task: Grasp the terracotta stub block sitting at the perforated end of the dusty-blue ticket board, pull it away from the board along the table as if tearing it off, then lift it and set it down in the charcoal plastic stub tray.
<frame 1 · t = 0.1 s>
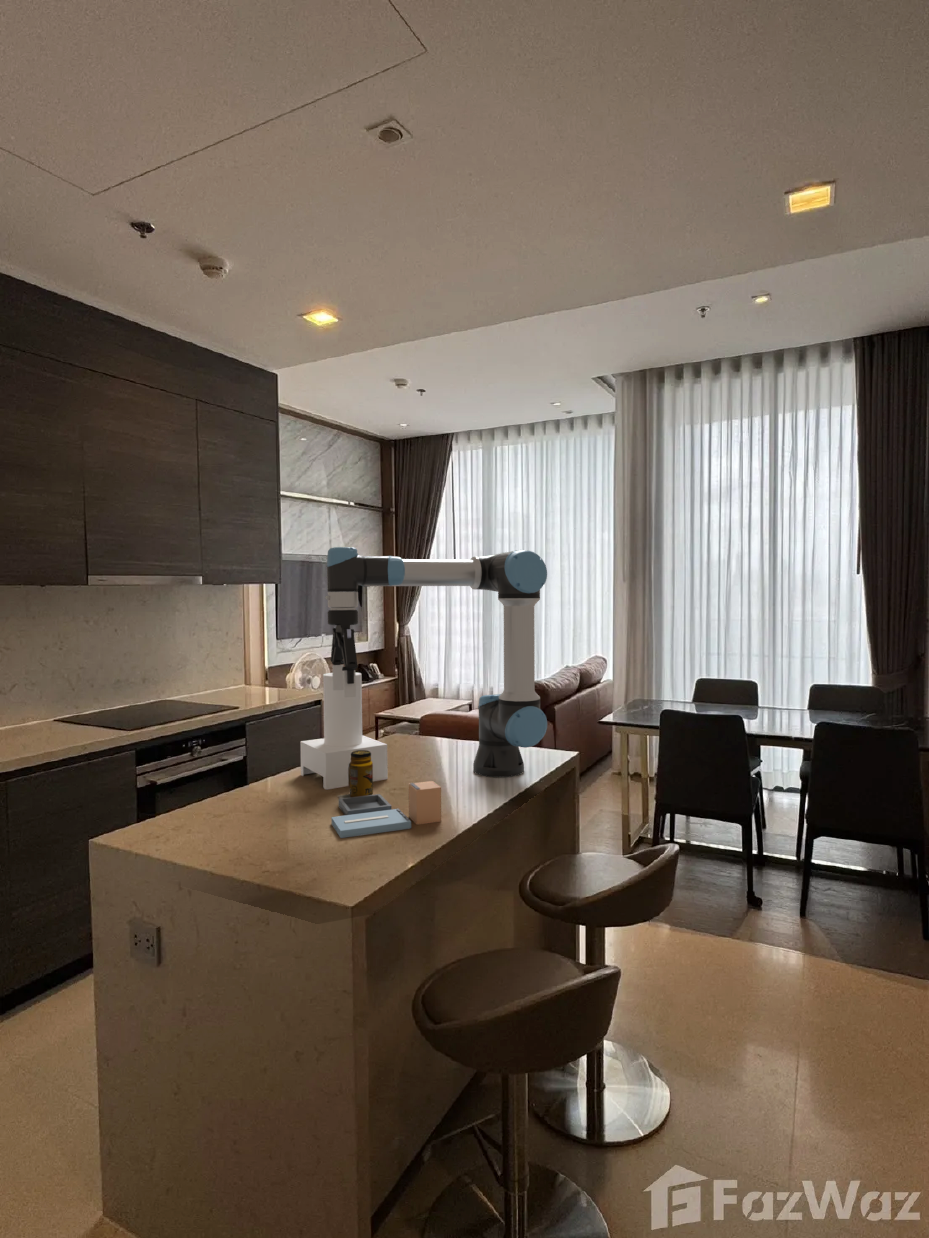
hand: (343, 693, 173), 28 cm above the countertop, fingers open, 13 cm apart
stub: (424, 819, 162), on the countertop
ticket board: (370, 826, 157), on the countertop
paper towel holder: (343, 777, 200), on the countertop
stub tray: (364, 810, 168), on the countertop
condiment: (358, 798, 179), on the countertop
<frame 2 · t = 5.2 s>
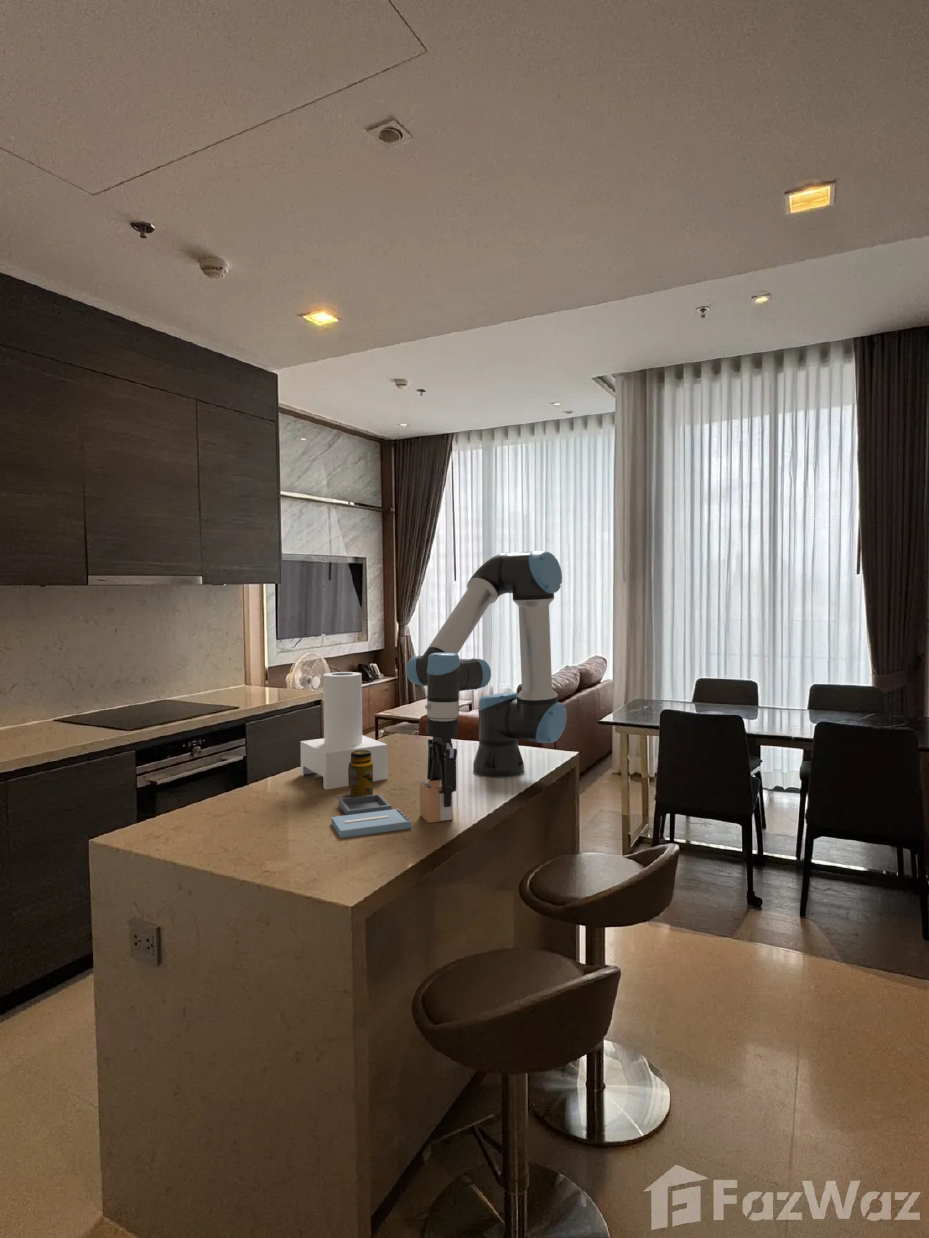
hand: (440, 815, 163), 0 cm above the countertop, fingers closed on stub, 6 cm apart
stub: (436, 817, 163), on the countertop, touching gripper
everything else where it was.
when the fingers open (2 cm above the countertop, at t = 10.7 s): stub stays where it is, resting on stub tray.
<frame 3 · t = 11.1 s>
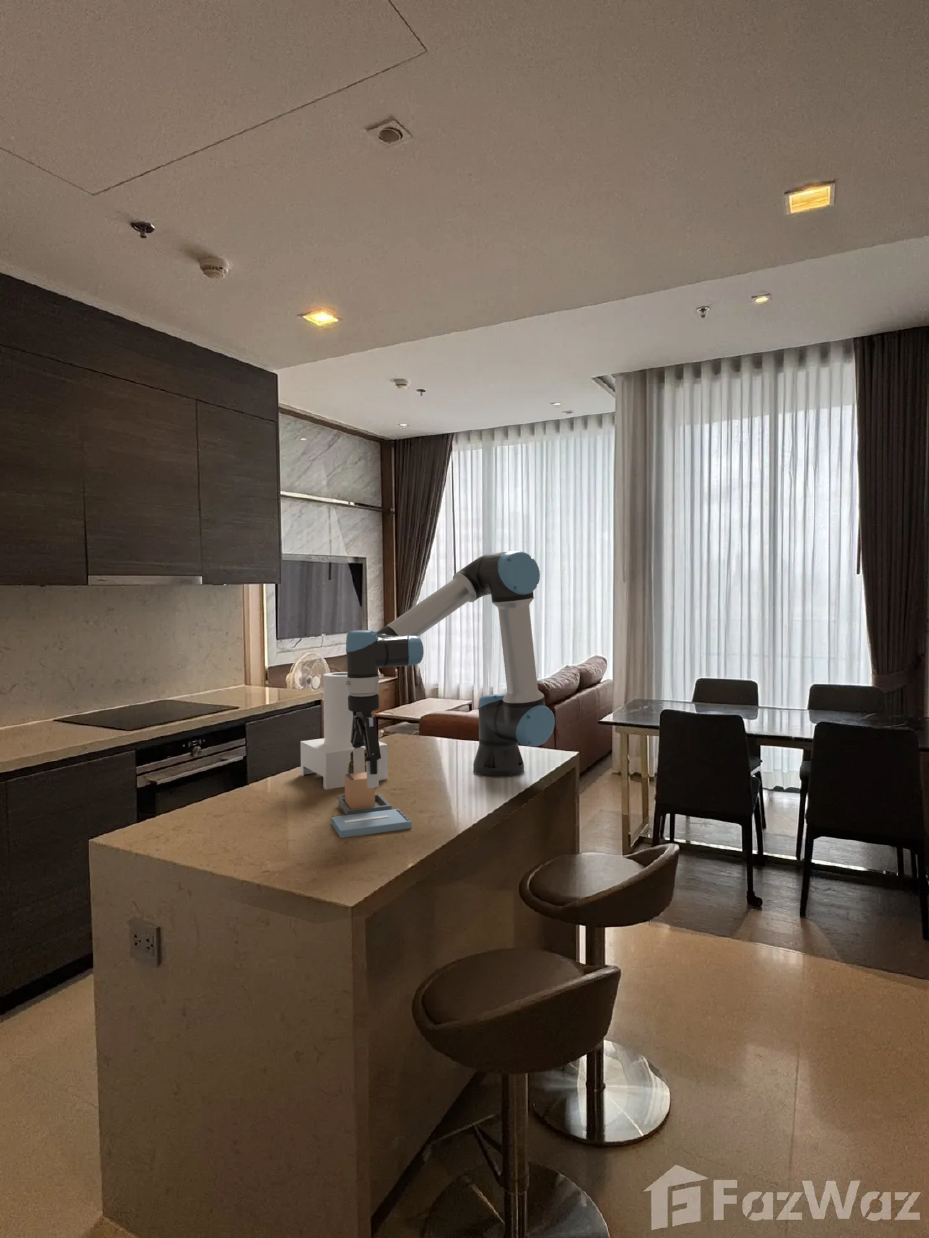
hand: (366, 780, 168), 7 cm above the countertop, fingers open, 13 cm apart
stub: (359, 808, 168), point 1 cm above the countertop, touching stub tray
everything else where it was.
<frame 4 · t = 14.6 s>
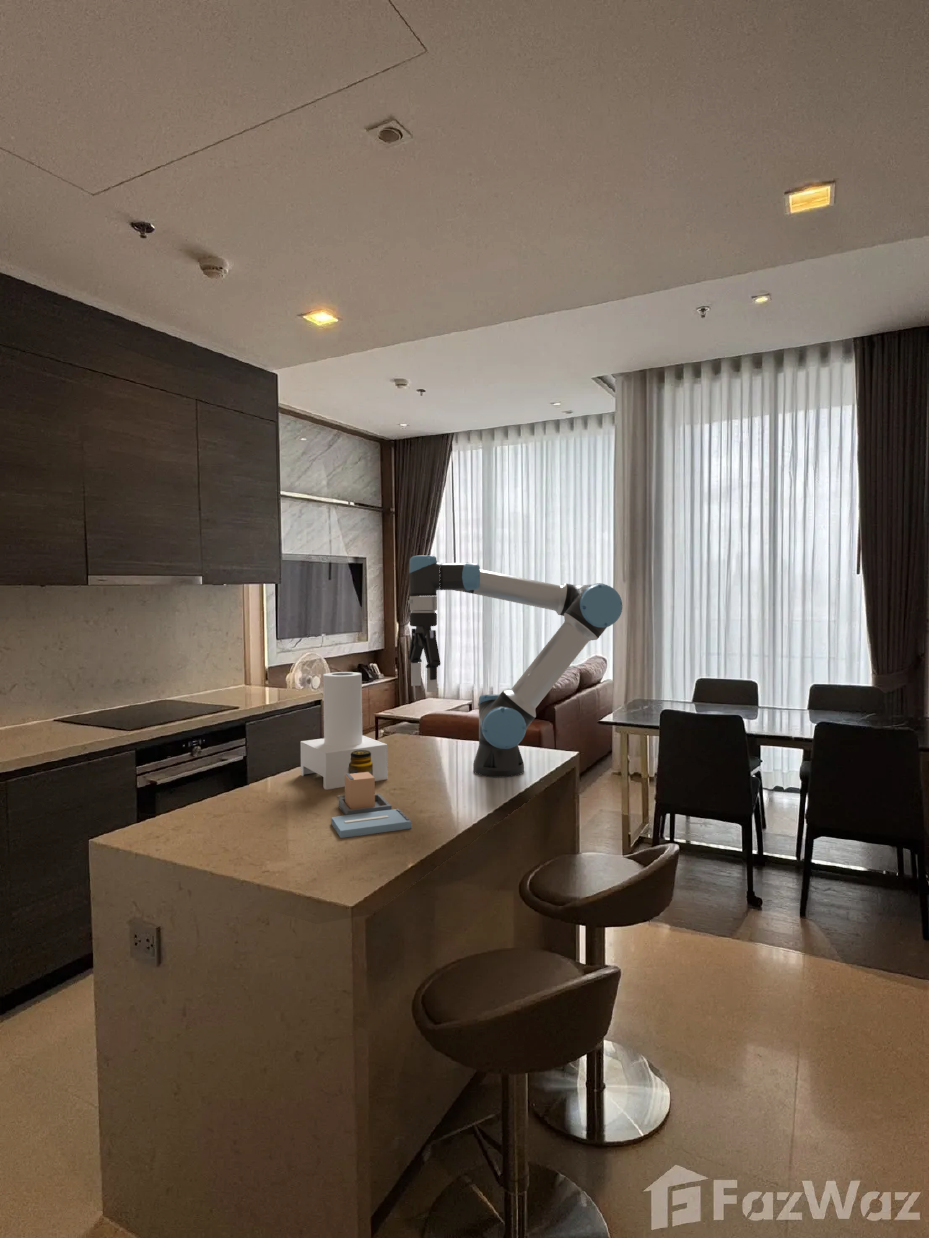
hand: (423, 688, 190), 27 cm above the countertop, fingers open, 13 cm apart
nothing on the countertop moved.
at the end: stub inside the target area on the stub tray (1.2 cm from its centre), point 0.6 cm above the stub tray's base; the gripper is holding nothing; stub touching stub tray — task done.
